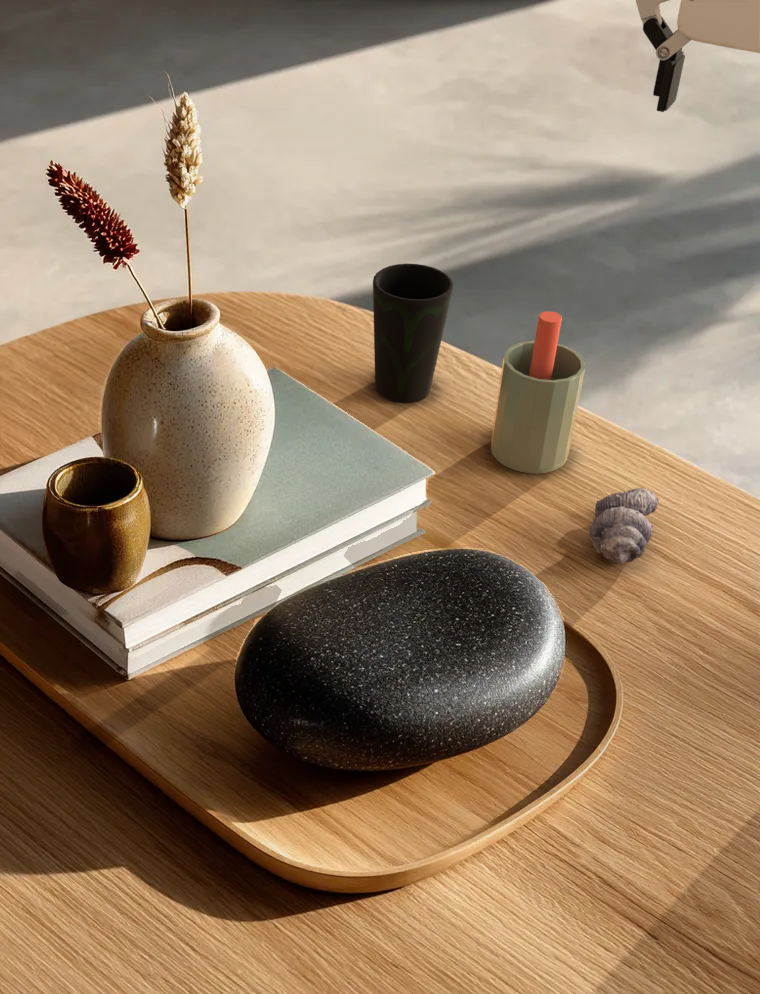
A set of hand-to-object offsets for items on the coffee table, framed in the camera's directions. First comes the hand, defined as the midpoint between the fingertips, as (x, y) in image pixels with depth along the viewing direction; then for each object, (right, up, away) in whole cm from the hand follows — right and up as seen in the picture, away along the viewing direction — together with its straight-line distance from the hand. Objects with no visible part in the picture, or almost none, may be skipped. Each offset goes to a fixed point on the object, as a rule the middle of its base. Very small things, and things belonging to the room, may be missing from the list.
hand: (725, 118), depth 105 cm
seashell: (-6, -34, +10) cm, 36 cm away
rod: (-11, -25, +21) cm, 35 cm away
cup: (-22, -19, +30) cm, 42 cm away
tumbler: (-11, -25, +21) cm, 35 cm away
